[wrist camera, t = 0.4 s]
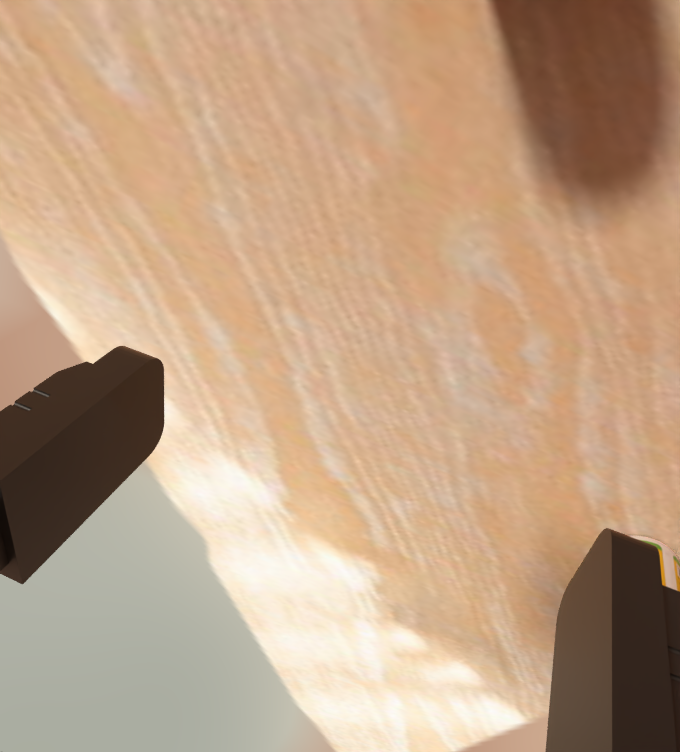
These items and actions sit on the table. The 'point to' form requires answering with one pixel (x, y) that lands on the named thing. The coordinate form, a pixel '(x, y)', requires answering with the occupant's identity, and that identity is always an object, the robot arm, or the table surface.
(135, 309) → the table surface
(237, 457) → the table surface
